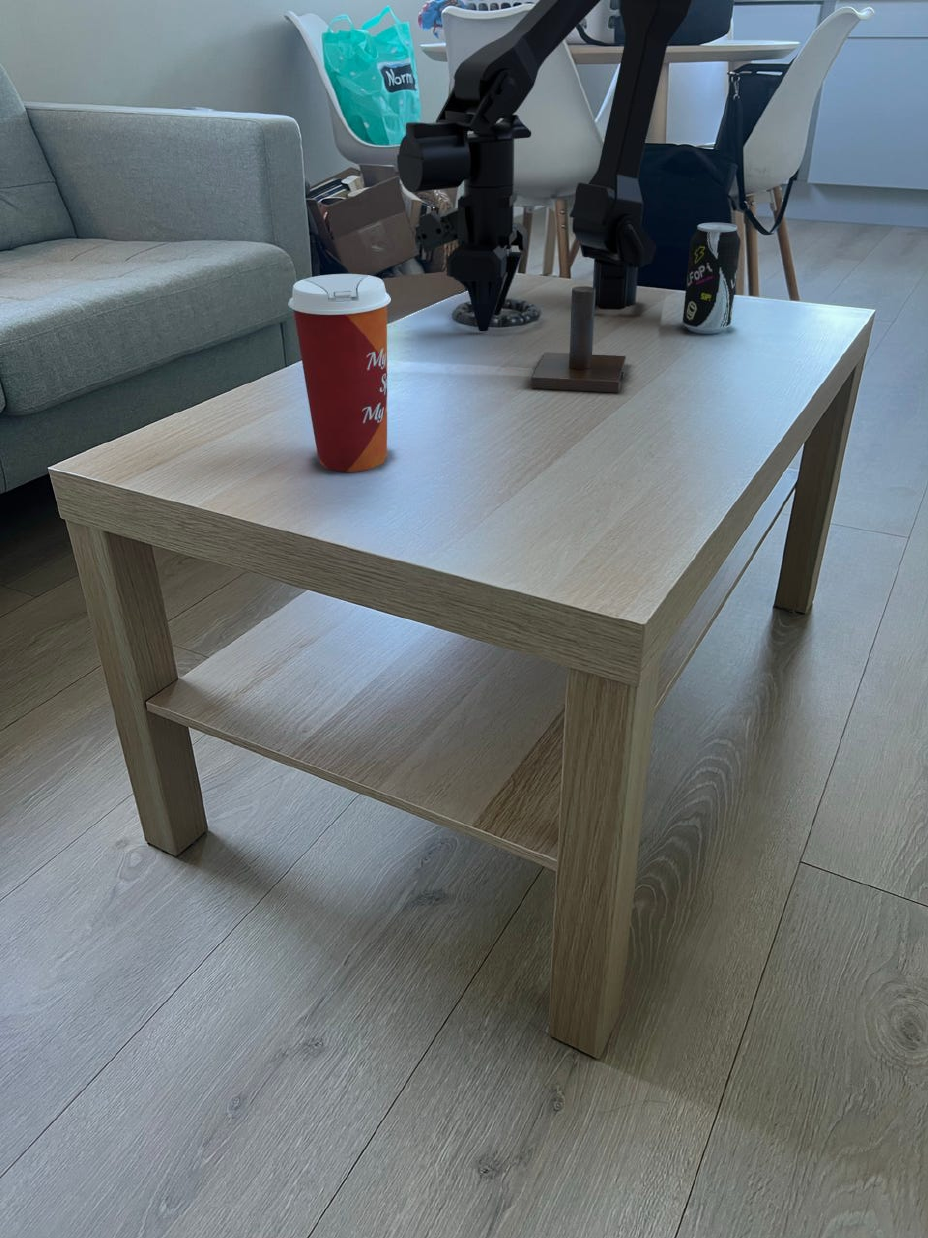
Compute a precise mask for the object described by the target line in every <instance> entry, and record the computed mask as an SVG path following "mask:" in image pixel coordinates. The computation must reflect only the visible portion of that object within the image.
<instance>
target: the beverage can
mask: <svg viewBox="0 0 928 1238" xmlns="http://www.w3.org/2000/svg"><path fill="white" fill-rule="evenodd" d="M696 227H697V228H696V231H695V233H694V234H693V235H692V237H691V239H690V244H689V254H688V265H687V273H686V282H685V283H686V284H685V294H684V306H683V315H682V324H683V326H684V327H686V328H687V329H688V331H690V332H693V333H696V334H701V335H702V334H705V335H712V334H720V333H721V332H723V331H724V330H725V329H728V328H729V327H730V326H731V324H732V317H733V316H732V314H733V307H734V299H735V292H736V285H737V284H736V283H737V277H738V269H739V260H740V253H741V244H742V241H741V237H740V236H739V234H738V231H737V230H738V226H737V224H733V223H727V222H704V223H700V224H698V225H696Z"/></svg>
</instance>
